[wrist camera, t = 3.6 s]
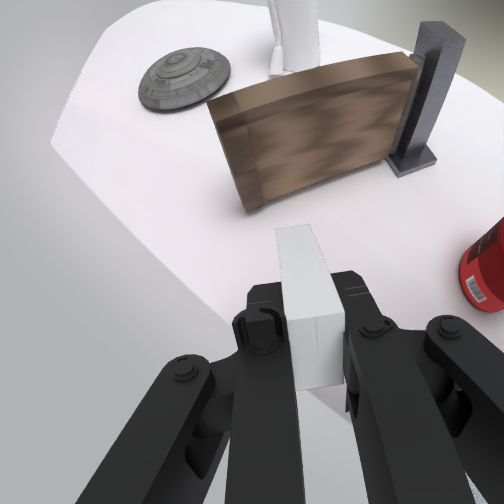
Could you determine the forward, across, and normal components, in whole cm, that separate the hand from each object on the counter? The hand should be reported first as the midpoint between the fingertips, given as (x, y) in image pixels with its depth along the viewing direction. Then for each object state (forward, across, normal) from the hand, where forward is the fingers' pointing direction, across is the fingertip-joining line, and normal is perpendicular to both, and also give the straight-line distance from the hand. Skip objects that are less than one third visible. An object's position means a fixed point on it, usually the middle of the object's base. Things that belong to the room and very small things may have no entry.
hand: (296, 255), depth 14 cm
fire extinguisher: (+38, +6, +14) cm, 41 cm away
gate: (+21, +5, -1) cm, 21 cm away
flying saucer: (+38, -11, +14) cm, 42 cm away
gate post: (+24, +16, 0) cm, 29 cm away
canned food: (+12, +22, -12) cm, 27 cm away
